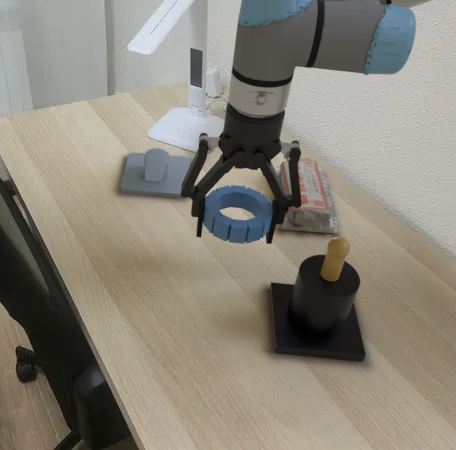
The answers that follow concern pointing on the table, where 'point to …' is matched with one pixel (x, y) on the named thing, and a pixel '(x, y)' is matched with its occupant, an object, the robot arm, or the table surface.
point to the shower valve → (154, 173)
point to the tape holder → (319, 308)
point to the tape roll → (231, 227)
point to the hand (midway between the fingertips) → (233, 234)
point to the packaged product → (308, 199)
